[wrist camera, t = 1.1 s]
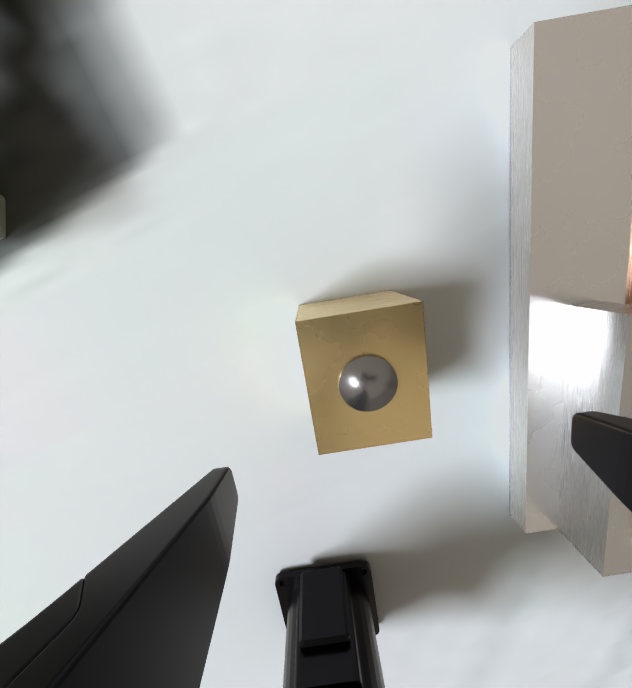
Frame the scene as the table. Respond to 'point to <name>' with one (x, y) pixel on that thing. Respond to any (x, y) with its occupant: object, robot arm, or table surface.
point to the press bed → (570, 272)
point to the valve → (2, 218)
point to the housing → (365, 370)
